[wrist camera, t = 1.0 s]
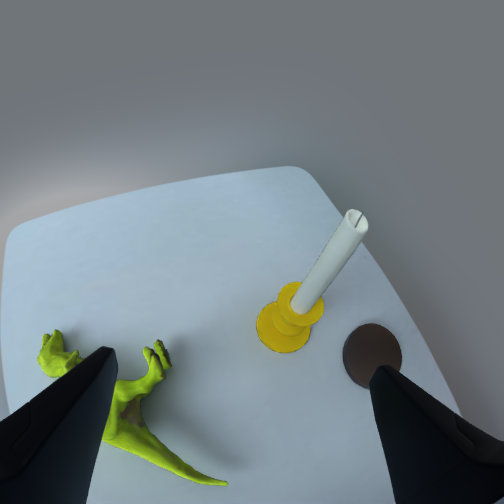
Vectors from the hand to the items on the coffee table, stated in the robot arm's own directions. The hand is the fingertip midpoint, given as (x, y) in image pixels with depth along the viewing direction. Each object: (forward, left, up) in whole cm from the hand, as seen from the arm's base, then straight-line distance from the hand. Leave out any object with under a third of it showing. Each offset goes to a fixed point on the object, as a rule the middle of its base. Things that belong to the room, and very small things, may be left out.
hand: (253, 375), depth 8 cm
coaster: (0, -16, -15) cm, 22 cm away
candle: (+6, -8, -15) cm, 18 cm away
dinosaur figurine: (+1, +8, -15) cm, 18 cm away
